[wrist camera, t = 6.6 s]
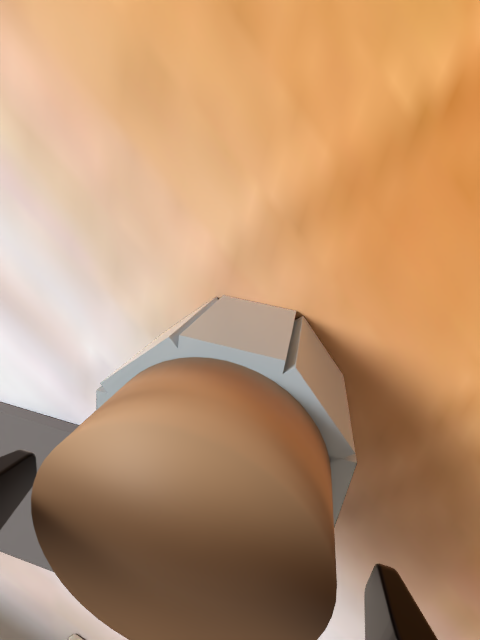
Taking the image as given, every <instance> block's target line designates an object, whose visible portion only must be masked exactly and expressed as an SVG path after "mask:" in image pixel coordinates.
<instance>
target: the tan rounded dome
mask: <svg viewBox="0 0 480 640" xmlns="http://www.w3.org/2000/svg"><path fill="white" fill-rule="evenodd" d="M31 514H32V520H33V526H34V530H35V533H36V536H37V539H38V542H39V544H40V547H41V549H42V551H43V554H44V556H45V557H46V559H47V561H48V563H49V564H50V566H51V568H52V570H53V571H54V572H55V574H56V575H57V577H58V578H59V579H60V581H61V582H62V583H63V585H64V586H65V587H66V588H67V589H68V590H69V592H70V593H71V594H72V595H73V596H74V597H75V598H76V599H77V600H78V601H79V602H80V603H81V604H82V605H83V606H84V607H85V608H86V609H87V610H88V611H90V612H91V613H92V614H93V615H94V616H95V617H97V618H98V619H99V620H100V621H102V622H103V623H105V624H106V625H107V626H109V627H110V628H111V629H113V630H114V631H116V632H118V633H119V634H121V635H122V636H124V637H126V638H127V639H129V640H317V639H318V638H319V637H320V635H321V634H322V633H323V632H324V630H325V629H326V627H327V625H328V623H329V621H330V619H331V617H332V614H333V610H334V606H335V603H336V589H337V580H336V559H335V539H334V519H333V499H332V479H331V466H330V458H329V454H328V451H327V447H326V444H325V442H324V439H323V437H322V435H321V433H320V430H319V429H318V427H317V425H316V424H315V422H314V421H313V419H312V417H311V416H310V415H309V414H308V412H307V411H306V410H305V409H304V407H303V406H302V405H301V404H300V403H299V402H298V401H297V400H296V399H295V398H294V397H293V396H292V395H291V394H290V393H289V392H288V391H286V390H285V389H283V388H282V387H281V386H279V385H278V384H277V383H275V382H274V381H272V380H271V379H269V378H267V377H265V376H264V375H262V374H260V373H259V372H256V371H254V370H252V369H249V368H247V367H245V366H242V365H239V364H236V363H232V362H229V361H225V360H220V359H214V358H204V357H187V358H177V359H172V360H168V361H163V362H161V363H158V364H155V365H153V366H150V367H148V368H147V369H145V370H143V371H141V372H140V373H138V374H137V375H136V376H134V377H133V378H132V379H131V380H129V381H128V382H127V383H126V384H125V385H124V386H123V387H122V388H120V389H119V390H118V391H117V392H116V393H115V394H114V395H113V396H112V397H111V398H109V399H108V400H107V401H106V402H105V403H104V404H103V405H102V406H101V407H99V408H98V409H97V410H96V411H95V412H94V413H93V414H92V415H91V416H90V417H88V418H87V419H86V420H85V421H84V422H83V423H82V424H81V425H80V426H78V427H77V428H76V429H75V430H74V431H73V432H72V433H71V434H70V435H68V436H67V437H66V438H65V439H64V440H63V441H62V442H61V443H60V444H59V445H57V446H56V447H55V448H54V449H53V450H52V451H51V453H50V454H49V455H48V456H47V457H46V458H45V459H44V461H43V463H42V465H41V466H40V468H39V470H38V472H37V475H36V477H35V480H34V483H33V488H32V495H31Z"/></svg>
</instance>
